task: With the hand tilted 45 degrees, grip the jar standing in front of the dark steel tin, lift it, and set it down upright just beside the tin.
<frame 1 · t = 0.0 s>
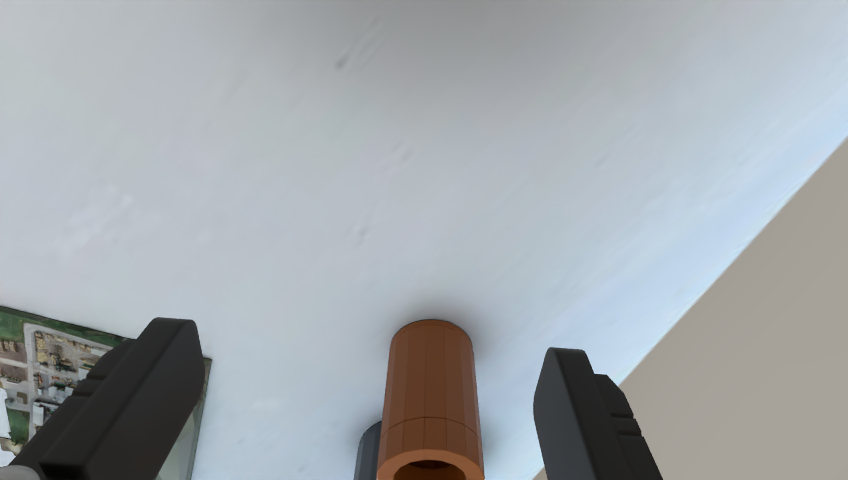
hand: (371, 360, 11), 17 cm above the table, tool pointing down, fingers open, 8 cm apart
jar: (431, 349, 35), on the table
tin: (418, 451, 42), on the table
model: (14, 394, 39), on the table
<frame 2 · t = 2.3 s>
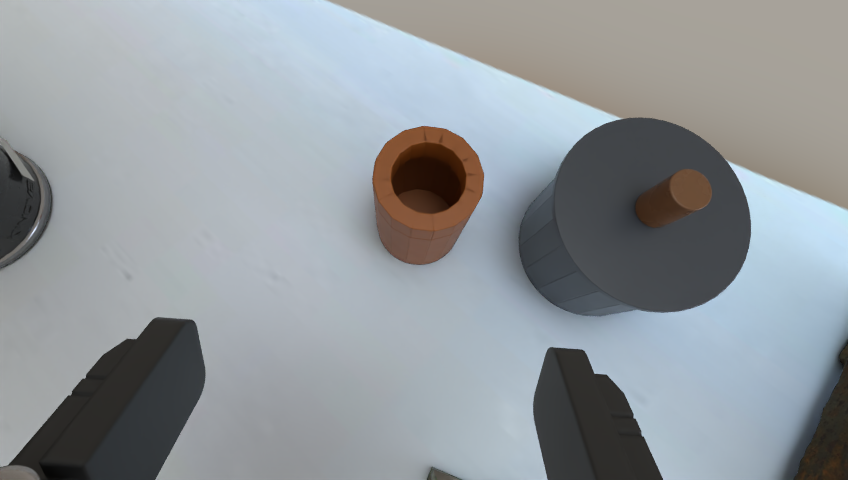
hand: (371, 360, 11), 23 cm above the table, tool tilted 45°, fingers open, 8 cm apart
jar: (418, 225, 36), on the table
tin: (586, 246, 36), on the table
hand tool: (821, 409, 35), on the table
tin lid: (648, 212, 27), point 9 cm above the table, touching tin
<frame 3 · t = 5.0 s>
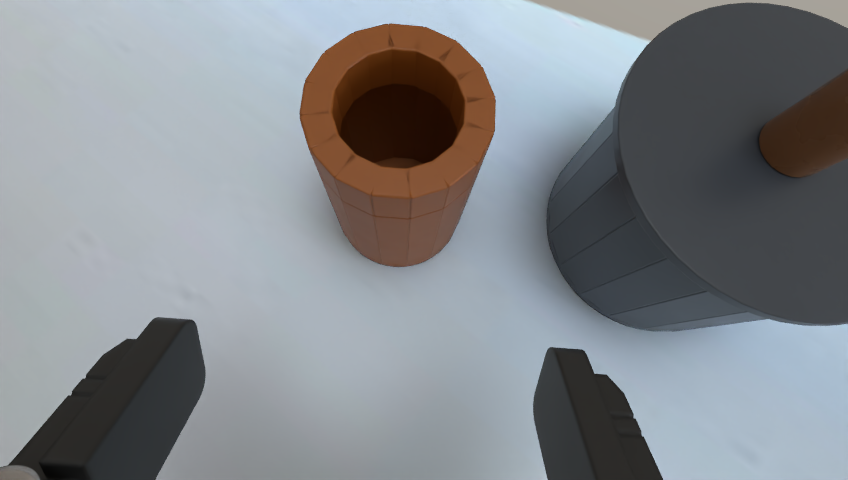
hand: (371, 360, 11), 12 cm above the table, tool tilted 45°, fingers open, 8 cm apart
jar: (399, 209, 24), on the table
tin: (646, 228, 25), on the table
tin lid: (778, 154, 16), point 9 cm above the table, touching tin
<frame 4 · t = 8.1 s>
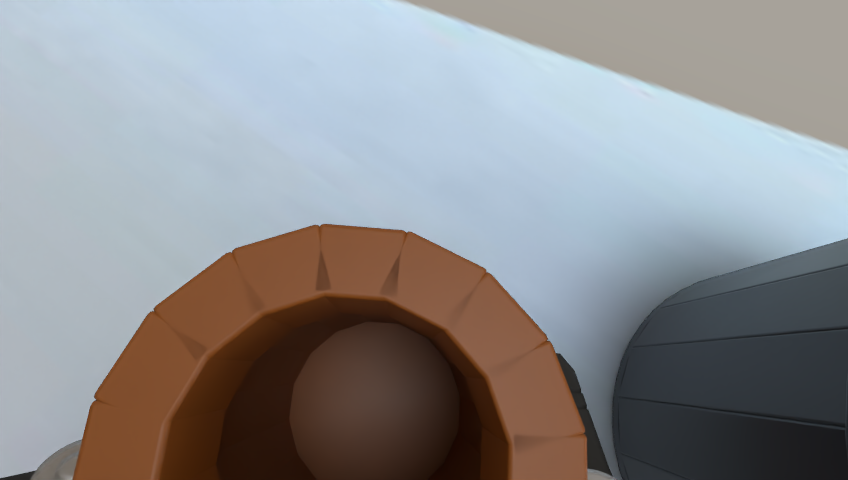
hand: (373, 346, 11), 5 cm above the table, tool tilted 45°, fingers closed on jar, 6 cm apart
jar: (376, 405, 15), on the table, touching gripper
tin: (769, 433, 16), on the table
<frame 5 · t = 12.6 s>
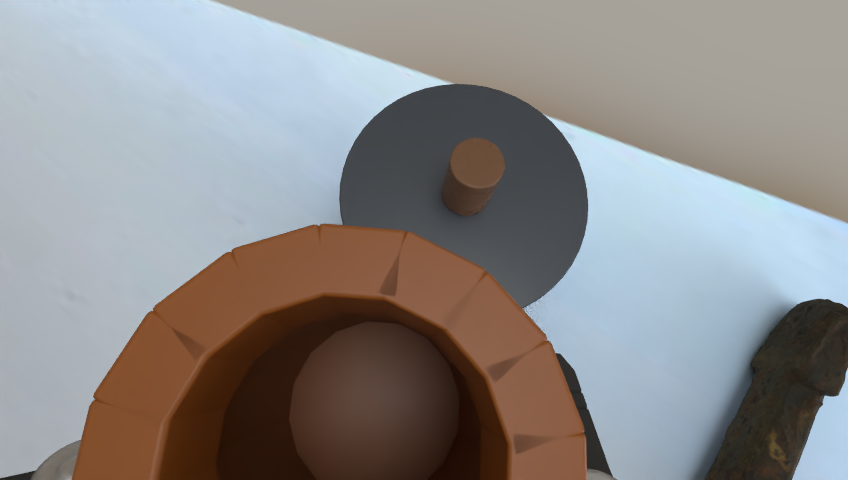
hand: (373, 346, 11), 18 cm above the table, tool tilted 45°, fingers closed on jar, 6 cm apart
jar: (376, 405, 15), point 14 cm above the table, touching gripper
hand tool: (729, 427, 29), on the table
tin lid: (463, 197, 22), point 9 cm above the table, touching tin
when the fingers open (5 cm above the table, at t = 17.4 s): jar stays where it is, on the table.
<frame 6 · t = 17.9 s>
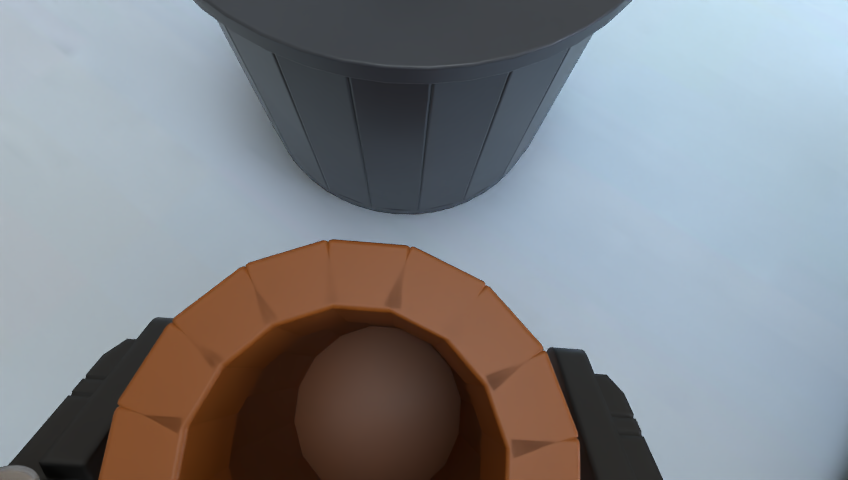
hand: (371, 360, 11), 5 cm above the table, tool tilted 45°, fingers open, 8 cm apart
jar: (379, 408, 16), on the table
tin: (406, 88, 19), on the table
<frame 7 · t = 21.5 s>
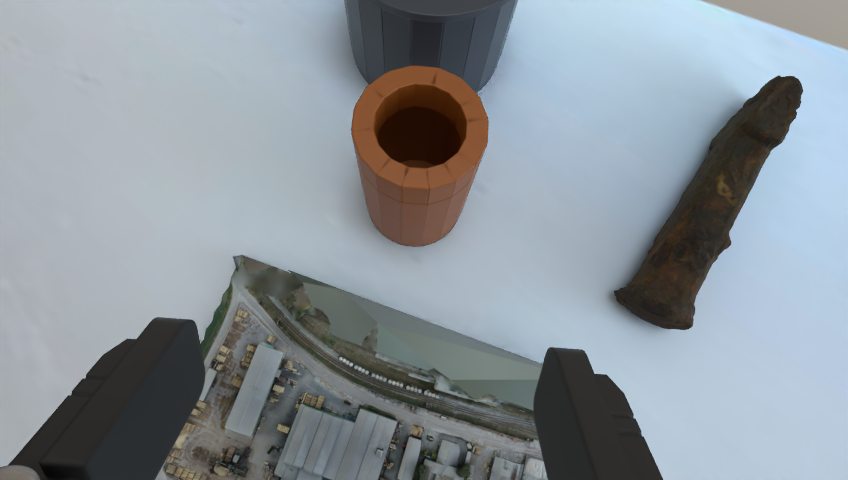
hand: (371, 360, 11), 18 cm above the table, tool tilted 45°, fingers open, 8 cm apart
jar: (414, 201, 31), on the table
tin: (426, 43, 34), on the table
hand tool: (688, 199, 32), on the table
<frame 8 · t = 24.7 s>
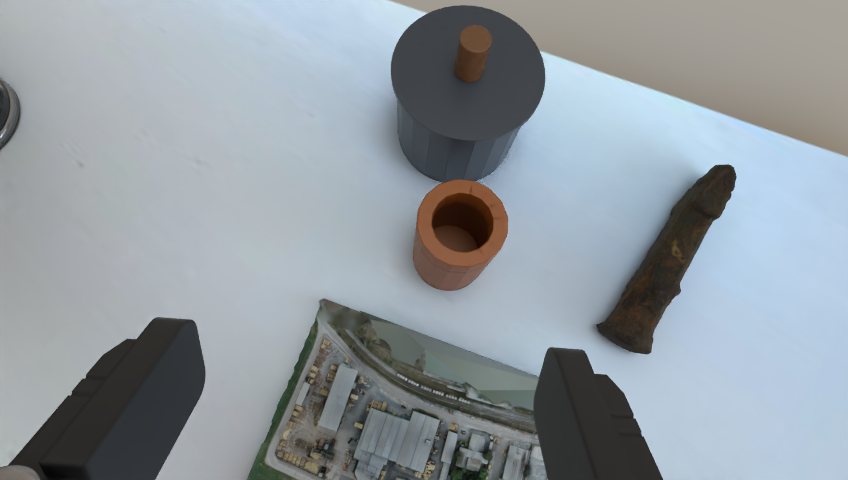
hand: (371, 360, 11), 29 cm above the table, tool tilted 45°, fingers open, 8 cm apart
jar: (448, 256, 41), on the table
tin: (454, 131, 44), on the table
hand tool: (653, 253, 42), on the table
tin lid: (467, 73, 36), point 9 cm above the table, touching tin
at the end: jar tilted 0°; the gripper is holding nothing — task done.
